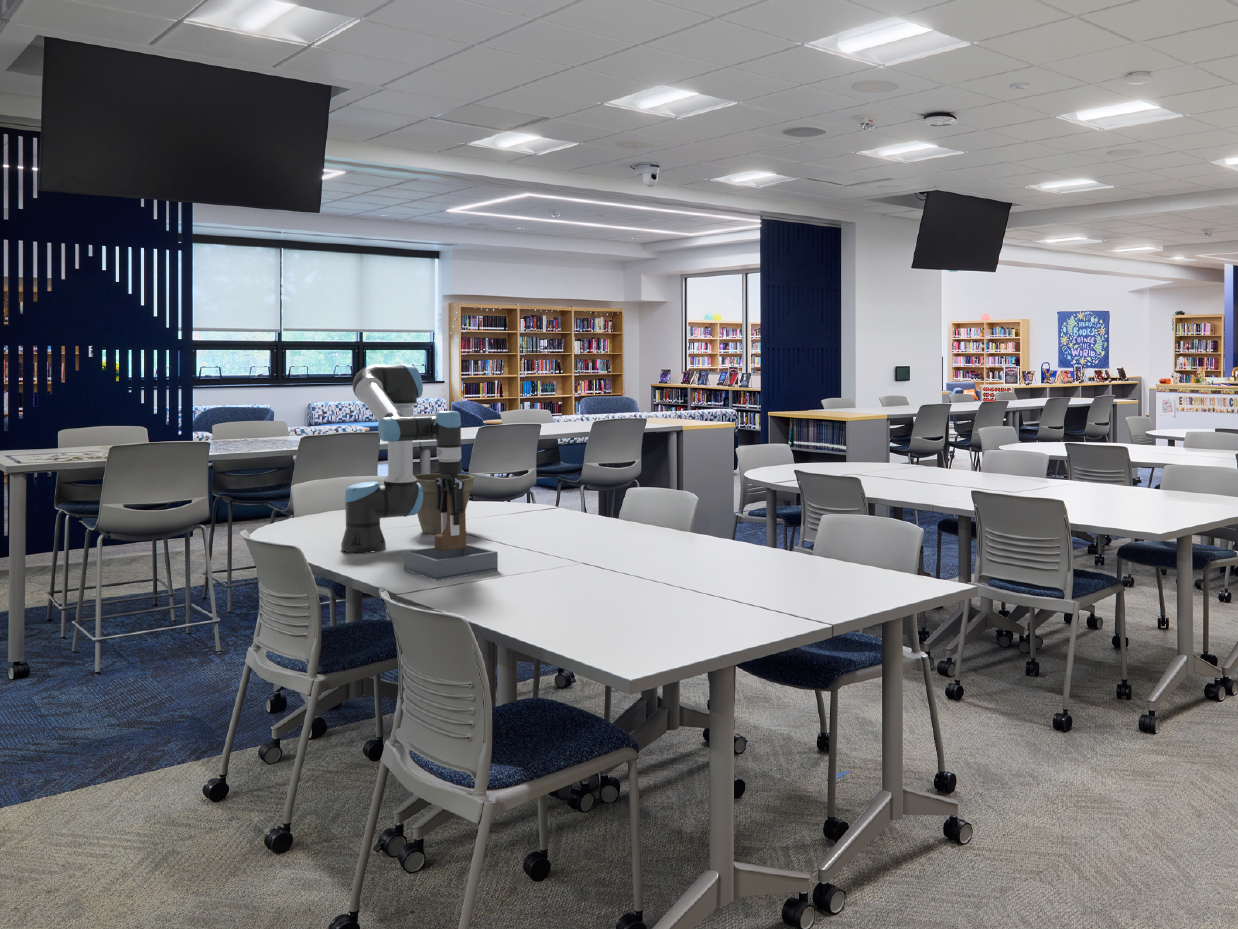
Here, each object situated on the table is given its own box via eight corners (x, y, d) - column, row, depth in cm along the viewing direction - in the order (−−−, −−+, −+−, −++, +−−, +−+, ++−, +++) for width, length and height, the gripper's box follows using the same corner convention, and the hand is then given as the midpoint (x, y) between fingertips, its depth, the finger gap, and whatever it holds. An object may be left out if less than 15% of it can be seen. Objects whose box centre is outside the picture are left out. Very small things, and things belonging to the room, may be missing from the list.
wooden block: (440, 551, 297) (439, 494, 295) (434, 549, 301) (433, 492, 299) (466, 548, 302) (465, 491, 301) (460, 546, 306) (459, 490, 304)
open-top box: (404, 570, 303) (403, 551, 302) (463, 560, 317) (463, 542, 317) (436, 580, 288) (436, 561, 287) (497, 570, 302) (497, 551, 302)
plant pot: (482, 527, 383) (482, 473, 381) (461, 538, 359) (460, 480, 357) (424, 525, 388) (423, 472, 385) (399, 535, 364) (397, 479, 361)
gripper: (424, 459, 303) (425, 531, 305) (453, 463, 290) (455, 539, 292) (444, 457, 308) (445, 529, 310) (474, 461, 295) (476, 536, 297)
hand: (450, 533), depth 301 cm, fingers closed on wooden block, 5 cm apart
